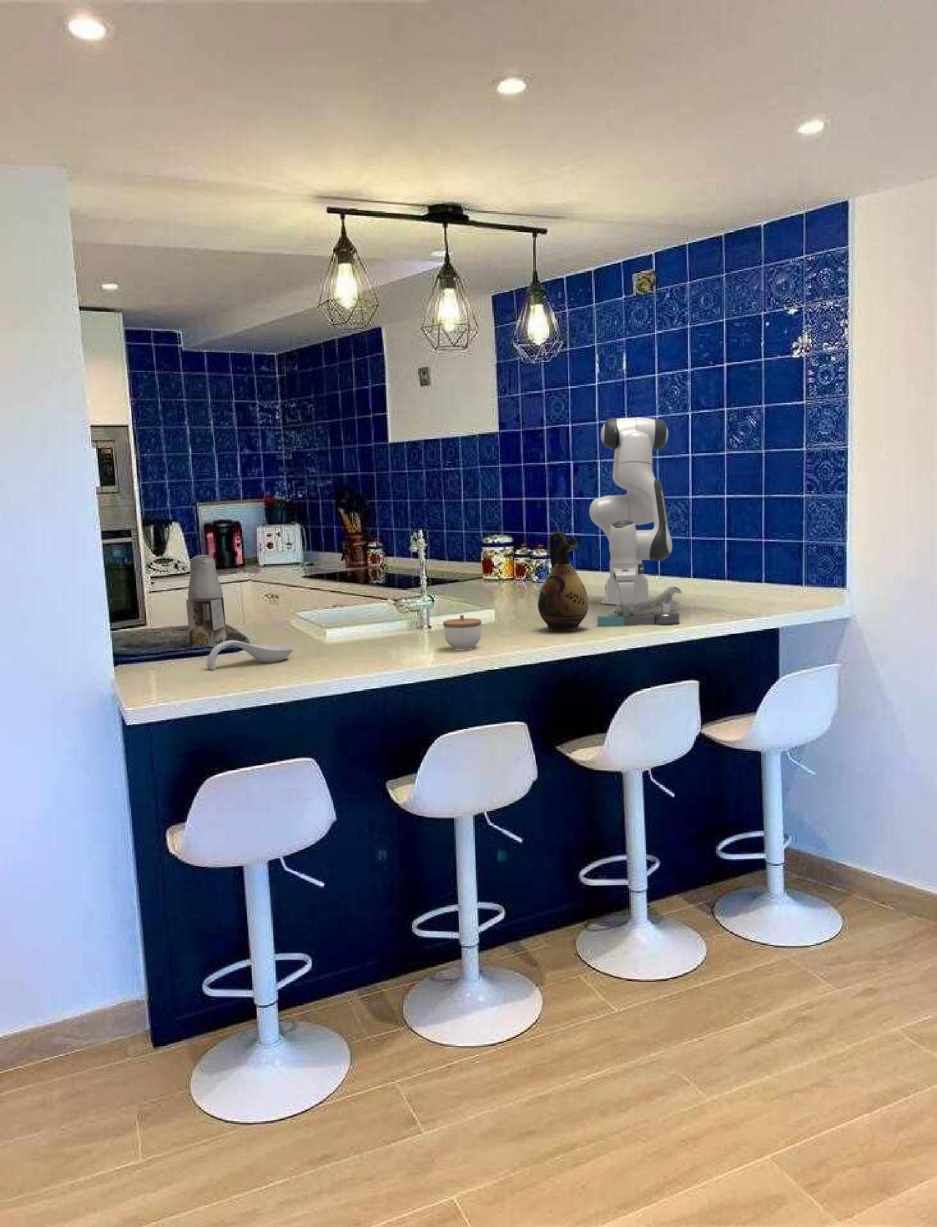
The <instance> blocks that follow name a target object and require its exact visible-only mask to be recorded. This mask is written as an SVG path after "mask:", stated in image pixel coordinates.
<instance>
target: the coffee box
mask: <svg viewBox="0 0 937 1227" xmlns="http://www.w3.org/2000/svg"><path fill="white" fill-rule="evenodd" d="M224 602H225V601H224V597H223V598H196V599H192V600H189V601H188V600H185V603H186V605H185V606H186V614H187V615H186V616H187V624H188V633H189V634H188V635H189V642H190V643H189V644H190V646H191V645H196V646H197V645H198V646H210V647H213V648H214V647H215V646H217V645H218V644H220V643H222V642H225V641H228V637H227V625H226V615H225V604H224Z"/></svg>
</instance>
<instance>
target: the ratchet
mask: <svg viewBox="0 0 937 1227" xmlns="http://www.w3.org/2000/svg"><path fill="white" fill-rule="evenodd" d="M661 609H662V611H659V612H658V611H657V612H654V613H652V614H648V615H647V614H646V615H643V614H642V615H634V616H623V615H615V614H614V615H613V614H612V615H609V616H608V615H597V618H596V619H597V627H621V626H620V625H624V626H639V625H638V624H652V625H655V624H662V625H661V626H670V625H669V624H676V625H678V624H680V612H675V611H671V609H670V604H662V608H661Z"/></svg>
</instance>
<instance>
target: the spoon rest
mask: <svg viewBox="0 0 937 1227" xmlns="http://www.w3.org/2000/svg"><path fill="white" fill-rule="evenodd" d="M232 646H233V647H238V648H241V649H242V650H243V651H245V652H246V653H247V654H249V655H251V657H253V658H254V659H255V660H256V661H258V662H259V663H261V662H271V663H277V662H282V661H283V660H286V659H287V658H288V657H289V656H290V655H291V653H292V652H293V651H294V647H293V646H287V645H274V644H273V645H266V644H265V645H264V644H263V645H261V644H251V643H249V642H248V643H247V642H244V641H240V640H233V639H231V640H227V641H225V642H222V643H220V644H218V645H217V646H215V647H214V648H213V649H212V651H211V652H210V654H208V657H207V661H206V668H207V669H208V670H212V671H215V670H216V660H217V657H218V655H219V654H218V653H219V652H220V651H221V650H222V649H224V648H226V647H228V648H229V647H232ZM281 660H282V661H281Z"/></svg>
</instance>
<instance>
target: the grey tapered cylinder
mask: <svg viewBox="0 0 937 1227" xmlns="http://www.w3.org/2000/svg"><path fill="white" fill-rule="evenodd" d="M189 570H190V571H189V572H190V573H189V583H188V592H187V598H188V599H187V601H189V600H192V599H196V598H223V599H224V593H223V589H222V586H221V583H220V580H219V578H218V577H219V576H218V573H217V570H216V562H215V560H214V559H213V557H212V556H211V555H208V554H197V555H194V556H193V557H192V558H191V560H190V564H189Z"/></svg>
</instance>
